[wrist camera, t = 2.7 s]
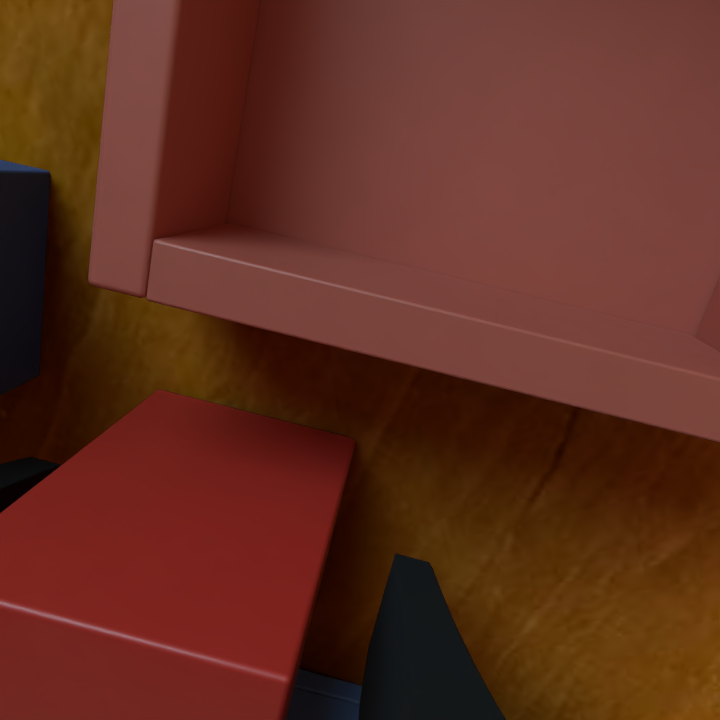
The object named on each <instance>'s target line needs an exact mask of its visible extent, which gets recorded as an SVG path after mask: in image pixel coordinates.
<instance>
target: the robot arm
mask: <svg viewBox="0 0 720 720" xmlns="http://www.w3.org/2000/svg"><path fill="white" fill-rule="evenodd" d="M60 466H61V465H60V464H56V463H52V462H48V461H45V460H41V459H37V458H33V457H28V458H23V459H18V460H14V461H10V462H7V463H3V464H0V513H1V512H2V511H4V510H5V509H6V508H8V507H9V506H10V505H11V504H13V503H14V502H15V501H16V500H18V499H19V498H20V497H22V496H23V495H24V494H25V493H27V492H28V491H29V490H30V489H32V488H33V487H34V486H36V485H37V484H38V483H39V482H41V481H42V480H43V479H44V478H46V477H47V476H48V475H50V474H51V473H52V472H53V471H55V470H56V469H57V468H59V467H60ZM358 720H506V719H505V717H504V716H503V714H502V712H501V711H500V709H499V707H498V706H497V704H496V702H495V700H494V699H493V697H492V695H491V693H490V692H489V690H488V688H487V686H486V684H485V683H484V681H483V679H482V677H481V675H480V673H479V671H478V670H477V668H476V666H475V664H474V662H473V660H472V658H471V656H470V654H469V652H468V650H467V648H466V646H465V643H464V641H463V639H462V637H461V635H460V633H459V631H458V629H457V627H456V624H455V622H454V620H453V618H452V615H451V613H450V611H449V608H448V606H447V604H446V601H445V599H444V596H443V594H442V591H441V589H440V586H439V584H438V581H437V578H436V576H435V573H434V570H433V568H432V566H431V565H430V563H429V562H426V561H422V560H418V559H415V558H411V557H407V556H403V555H399V554H396V553H395V557H394V560H393V564H392V567H391V571H390V574H389V578H388V581H387V585H386V588H385V592H384V595H383V598H382V602H381V605H380V609H379V612H378V616H377V619H376V623H375V626H374V630H373V633H372V637H371V640H370V644H369V648H368V654H367V660H366V666H365V672H364V678H363V684H362V690H361V696H360V703H359V718H358Z"/></svg>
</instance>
